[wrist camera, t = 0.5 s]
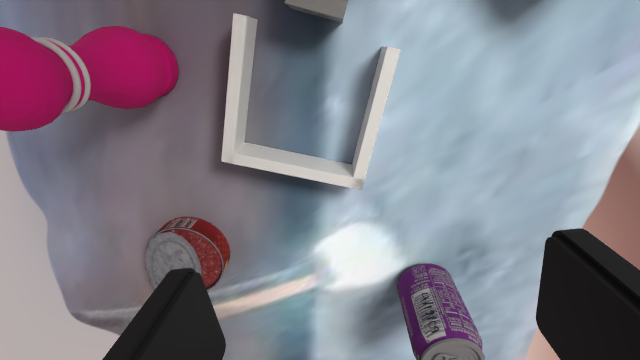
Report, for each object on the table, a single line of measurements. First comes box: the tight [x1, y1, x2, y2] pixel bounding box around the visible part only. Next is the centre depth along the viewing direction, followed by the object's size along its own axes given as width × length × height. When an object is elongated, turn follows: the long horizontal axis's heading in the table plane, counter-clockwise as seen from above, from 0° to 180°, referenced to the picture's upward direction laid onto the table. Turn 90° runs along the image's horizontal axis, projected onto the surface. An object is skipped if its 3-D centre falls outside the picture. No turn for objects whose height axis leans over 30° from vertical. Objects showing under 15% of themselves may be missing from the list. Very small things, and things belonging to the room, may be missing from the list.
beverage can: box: [397, 264, 485, 360], centre depth 37 cm, size 7×7×12 cm
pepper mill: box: [0, 26, 178, 131], centre depth 25 cm, size 7×7×20 cm
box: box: [221, 13, 401, 190], centre depth 33 cm, size 14×15×4 cm
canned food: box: [145, 217, 230, 290], centre depth 40 cm, size 11×10×10 cm
